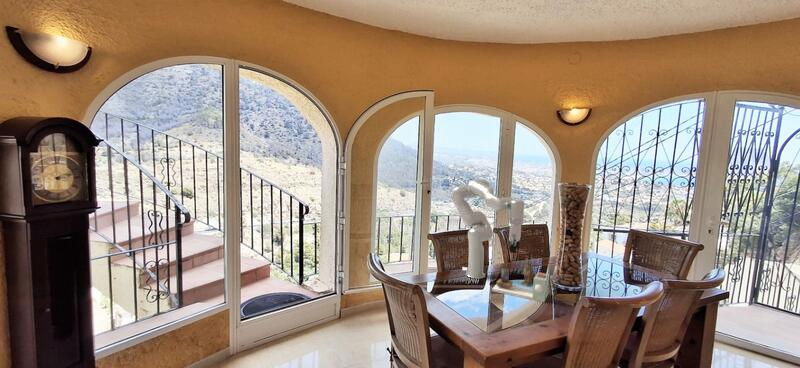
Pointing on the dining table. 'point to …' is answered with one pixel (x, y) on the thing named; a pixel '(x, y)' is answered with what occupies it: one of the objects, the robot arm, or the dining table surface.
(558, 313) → the dining table surface
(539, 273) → the button
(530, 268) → the worn brown figurine
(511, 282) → the carriage
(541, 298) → the gauge cabinet
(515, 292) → the rail base
